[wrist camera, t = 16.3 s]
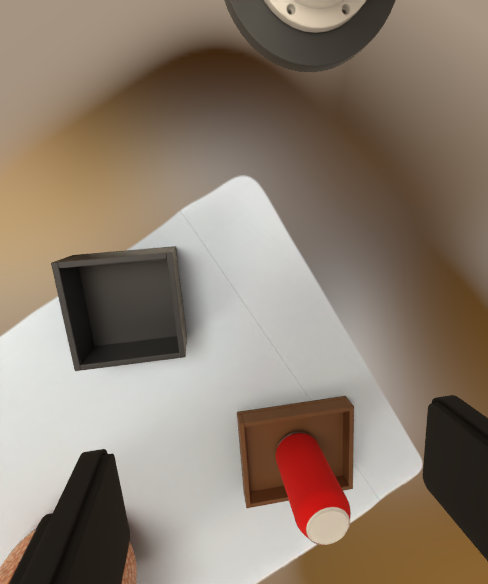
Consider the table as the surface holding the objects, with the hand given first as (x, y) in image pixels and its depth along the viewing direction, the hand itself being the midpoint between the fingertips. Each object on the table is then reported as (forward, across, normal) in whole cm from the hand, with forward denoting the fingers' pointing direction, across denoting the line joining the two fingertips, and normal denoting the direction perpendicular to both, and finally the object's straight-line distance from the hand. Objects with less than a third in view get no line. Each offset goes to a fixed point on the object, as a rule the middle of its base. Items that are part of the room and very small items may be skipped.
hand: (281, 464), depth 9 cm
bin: (+30, +10, +2) cm, 32 cm away
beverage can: (+30, -8, +25) cm, 40 cm away
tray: (+30, -8, +26) cm, 41 cm away
